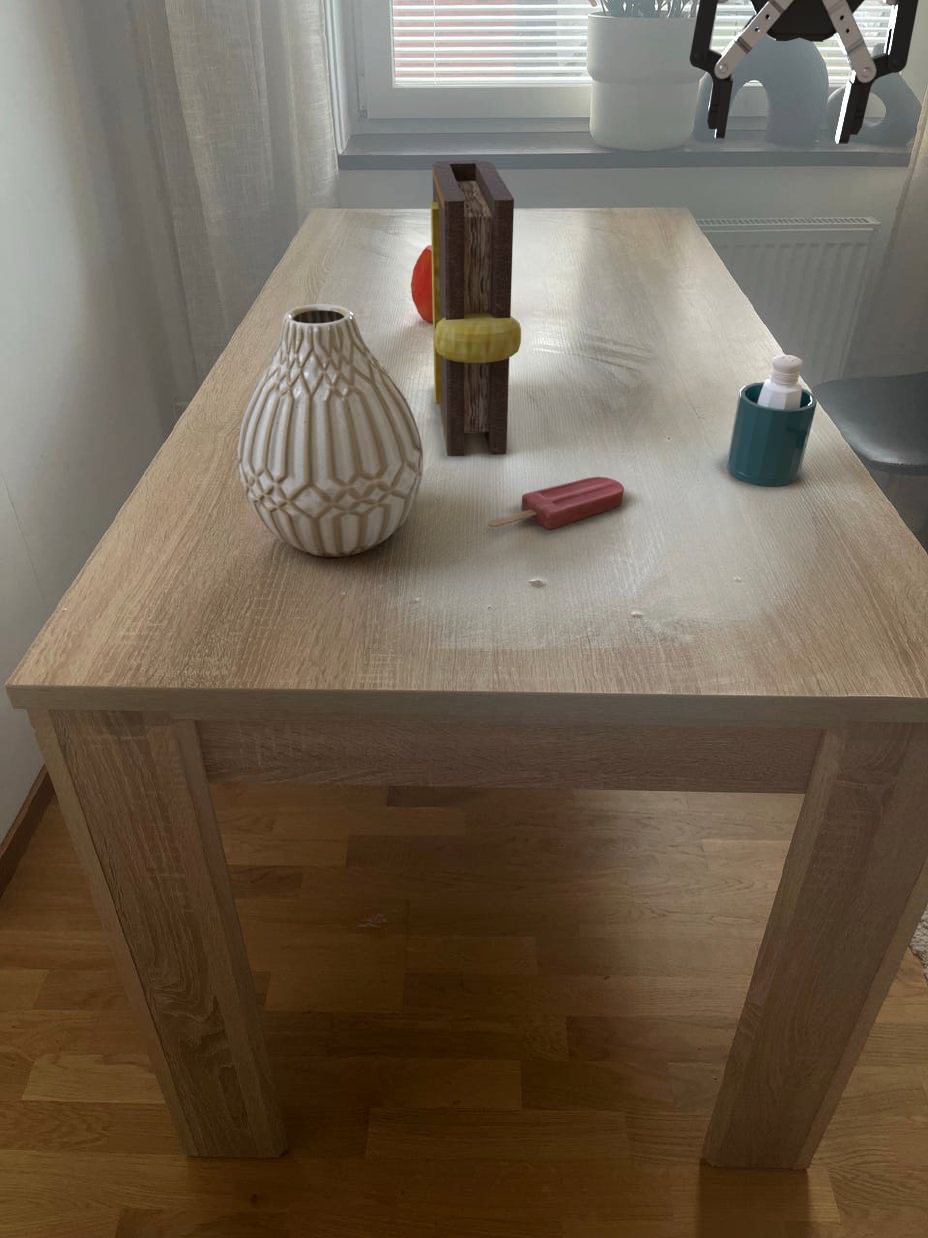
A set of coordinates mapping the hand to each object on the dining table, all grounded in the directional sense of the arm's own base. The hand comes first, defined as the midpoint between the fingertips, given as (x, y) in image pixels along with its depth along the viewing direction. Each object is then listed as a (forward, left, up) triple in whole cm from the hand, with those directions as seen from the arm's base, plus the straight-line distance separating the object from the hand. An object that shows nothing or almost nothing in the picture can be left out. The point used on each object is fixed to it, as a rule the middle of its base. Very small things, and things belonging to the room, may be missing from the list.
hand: (780, 139), depth 67 cm
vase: (+28, +20, -32) cm, 47 cm away
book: (+31, -7, -32) cm, 45 cm away
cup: (0, -14, -32) cm, 35 cm away
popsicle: (+13, +6, -32) cm, 35 cm away
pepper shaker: (-1, -13, -32) cm, 34 cm away
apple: (+54, -35, -32) cm, 72 cm away
